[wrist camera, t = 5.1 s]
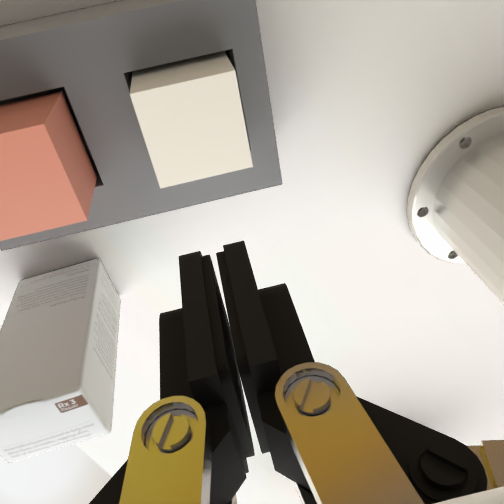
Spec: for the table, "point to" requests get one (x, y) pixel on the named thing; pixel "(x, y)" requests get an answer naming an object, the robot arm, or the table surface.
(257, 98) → the key housing
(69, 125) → the brick key
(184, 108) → the ivory key
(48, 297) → the skincare box
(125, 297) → the table surface
